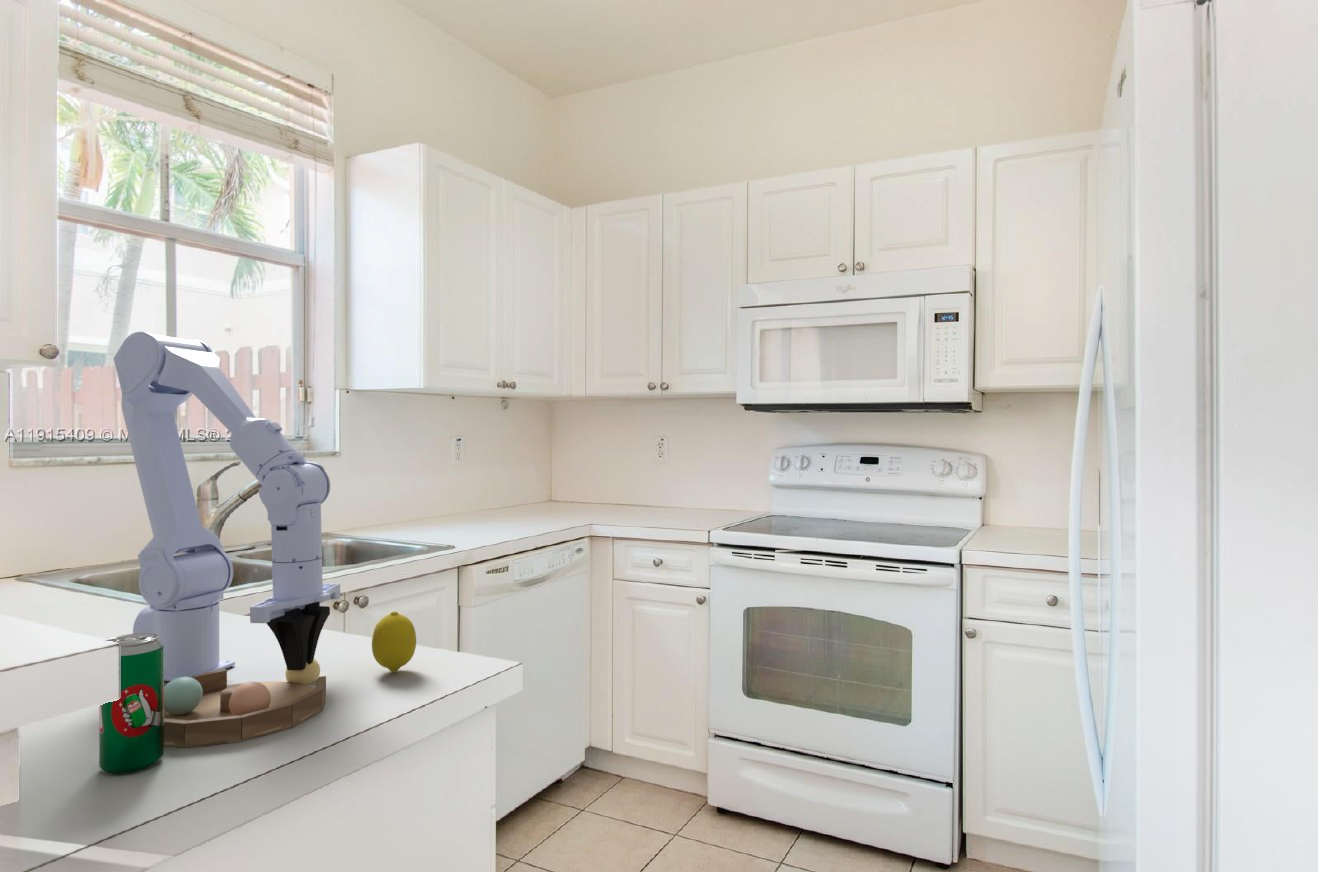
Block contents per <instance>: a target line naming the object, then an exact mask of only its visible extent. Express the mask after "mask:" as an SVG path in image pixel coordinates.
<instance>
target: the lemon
mask: <svg viewBox="0 0 1318 872" xmlns="http://www.w3.org/2000/svg"><path fill="white" fill-rule="evenodd" d="M414 626H415V625H414V624H413V623H412V621H411V620H410V618H408V617H407V616H405V615H403V614H402V613H401V614H400V613H399V612H397V611H391V612H390V613H389V614H387V615H386V616H384V617H382V618H381V619H380V620H379V621H378V622H377V624H376V625H375V628H373V632H372V638H371V649H372V655H373V657H374V659H375V662H376V663H378V665H380V666H381V667H383V668H386V669H387V670H389V671H390V672H391V673H397V672H398V670H400V669H401V668H402V667H404V666H405V665H407V664H408V663H409V662H410V661H411V660H412V659H413V656H414V654H415V652H416V647H417V634H416V629H415V627H414Z"/></svg>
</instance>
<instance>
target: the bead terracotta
mask: <svg viewBox="0 0 1318 872" xmlns="http://www.w3.org/2000/svg"><path fill="white" fill-rule="evenodd" d="M259 682H260V681H248V682H243V683H244V684H242V683H241V684H242V685H240V686H239V687H237V688H236V689H235V690H234V692H233V693H232V695H231V697H230V700H229V708H230V711H231V713H232V715H233V716H238V715H244V714H248V713H252V712H255V711H259V710H263V709H267V708H268V707H269V705H270V701H271V695H270V692H269V690H268V688H267V687H266V686H265V685H263V684H261V683H259Z"/></svg>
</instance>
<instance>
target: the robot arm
mask: <svg viewBox="0 0 1318 872" xmlns="http://www.w3.org/2000/svg"><path fill="white" fill-rule="evenodd" d="M113 362H114V365H115V370H116V374H117V378H118V381H119V382H118V383H119V386H120V391H121V410H122V411H121V412H122V415H123V419H124V423H125V428H126V432H127V435H128V439H129V443H130V447H131V451H132V456H133V459H134V460H133V461H134V464H135V468H136V473H137V474H138V475H137V476H138V479H139V483H140V487H141V491H142V495H143V500H144V504H145V508H146V511H147V515H148V520H149V523H150V528H151V531H152V535H153V537H152V538H151V539H150V541H149V542H147V544H146V545H145V546H144V547H143V549H141V550H140V552H139V553H138V555H137V557H138V563H139V577H138V587H139V593H140V594H141V597H142V598H143V600H144V601H145V602H146V603H147V604H148V605H147V606H145V607H144V608H142V609H141V610H140V611H139V612H138V614H137V615H136V618H135V620H134V623H133V627H132V634H135V633H155V634H158V635H159V636H160V637H159V640H160V641H161V643H162V644H163V645H164V682H170V681H172V680H174V679H176V678H179V677H189V676H193V675H198V674H203V673H208V672H212V671H217V670H222V669H225V670H226V669H228V668H230V667H232V666H235V665H236V661H235V660H224V659H223V660H222V659H220V601H221V600H223V599H224V592H226V591H227V590H228V589H229V587H230V586H231V584H232V582H233V578H234V566H233V562H232V560H231V559H230V557H229V555H228V554H227V552H226V551H225V550H224V549H223V546H222V543H221V539H220V537H219V536H218V535H216V534H215V533H214V532H212V531H210V530H209V529H207V528H206V527H204V526H203V525H202V521H201V517H200V514H199V510H198V506H197V502H196V497H195V494H194V491H193V486H192V482H191V477H190V473H189V471H188V466H187V462H186V459H185V455H184V454H185V453H184V452H183V446H182V443H181V437H180V436H179V430H178V427H177V424H176V419H175V416H174V413H175V412H176V410H177V409H178V407H179V405H183V404H184V403H185V402H186V401H187V400H189V399H190V397H192V396H193V395H194V396H195V397H196V398H197V400H199V401H200V403H201V404H203V406H205V408H207V410H209V412H210V413H211V414H212V415H213V416H214V417H215V418H216V419H217V420H218V422H220V423H221V424H222V425H223V426H224V427H225V428H226V429H227V430H228V431H229V433H230V438H229V447H230V449H232V451H233V452H234V453H235V455H236V456H237V457H238V458H239V459H240V461H241V462H242V463H243V464H244V466H245V467H246V469H248V470H249V472H250V473H251V474H252V475H253V477H255V479H256V480H257V481H258V482H259V484H261V487H258V496H259V498H260V501H261V503H262V504H263V505H264V507H265V509H266V511H267V521H269V524H270V525H271V527H270V531H271V537H270V538H271V569H272V570H271V572H272V574H271V575H272V581H271V582H272V595H271V596H270V597H268V598H266V599H264V600H263V601H261V602H259V603H257V604H255V605H252V606H250V607H249V617H250V619H249V620H250V621H249V623H250V624H266V625H267V626H268V627H269V629H270V630H271V632H272V633H273V635H274V636H275V638H276V641H277V642H278V644H279V648H280V649H281V653H282V656H283V659H284V663H285V665H286V669H288V670H304V669H305V667H306V662H307V663H308V664H309V665H310V664H311V663H313V659H315V654H316V650H317V647H318V642H319V639H320V636H321V633H322V630H323V628H324V625H325V623H326V621H327V620H328V618H329V616H330V614H331V608H330V606H327V605H326V606H325V605H324V606H323V605H320V604H322V603H324V602H327V601H331V600H334V601H335V600H338V599H341V583H324V582H323V543H322V542H323V541H322V535H323V533H322V504H323V503H325V501H327V498H328V497H329V495H330V491H331V481H330V477H329V475H328V473H327V472H326V470H325V467H324V466H322V465H321V464H319V463H317V462H315V461H308V460H307V459H306V458H305V456H304V455H303V453H302V452H301V451H297V450H296V449H295V447H294V446H293V445H292V443H291V442H290V441H289V440H288V439H287V438H286V437H285V435H283V433H282V430H283V428H282V426H281V425H280V423H278V422H277V421H275V422H274V421H271V419H268V418H263V417H261V418H257V416H255V414H254V413H253V411H252V409H250V407H249V406H248V405H247V404H246V402H245V400H244V399H243V398H242V396H241V395H240V393H239V392H238V391H237V390H236V388H235V387H234V385H233V383H231V381H230V380H229V379H228V377H227V375H226V374H225V373H224V371H223V369H221V362H222V361H221V358H220V357H219V355H217V354H216V353H214V351H213V350H212V348H211V346H210V345H208V344H207V343H206V342H204V341H203V340H199V339H192V338H191V339H185V338H180V337H179V338H178V337H172V336H165V335H159V334H153V333H151V332H145V331H135V332H133V333H131V334H130V335H128V336H127V337H126V338H125V339H124V341H122V343H121V345H120V347H119V349H118V350H117V352H116V354H115V355H114V357H113ZM180 553H182V554H180ZM175 554H177V555H175ZM323 583H324V584H323Z"/></svg>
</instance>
